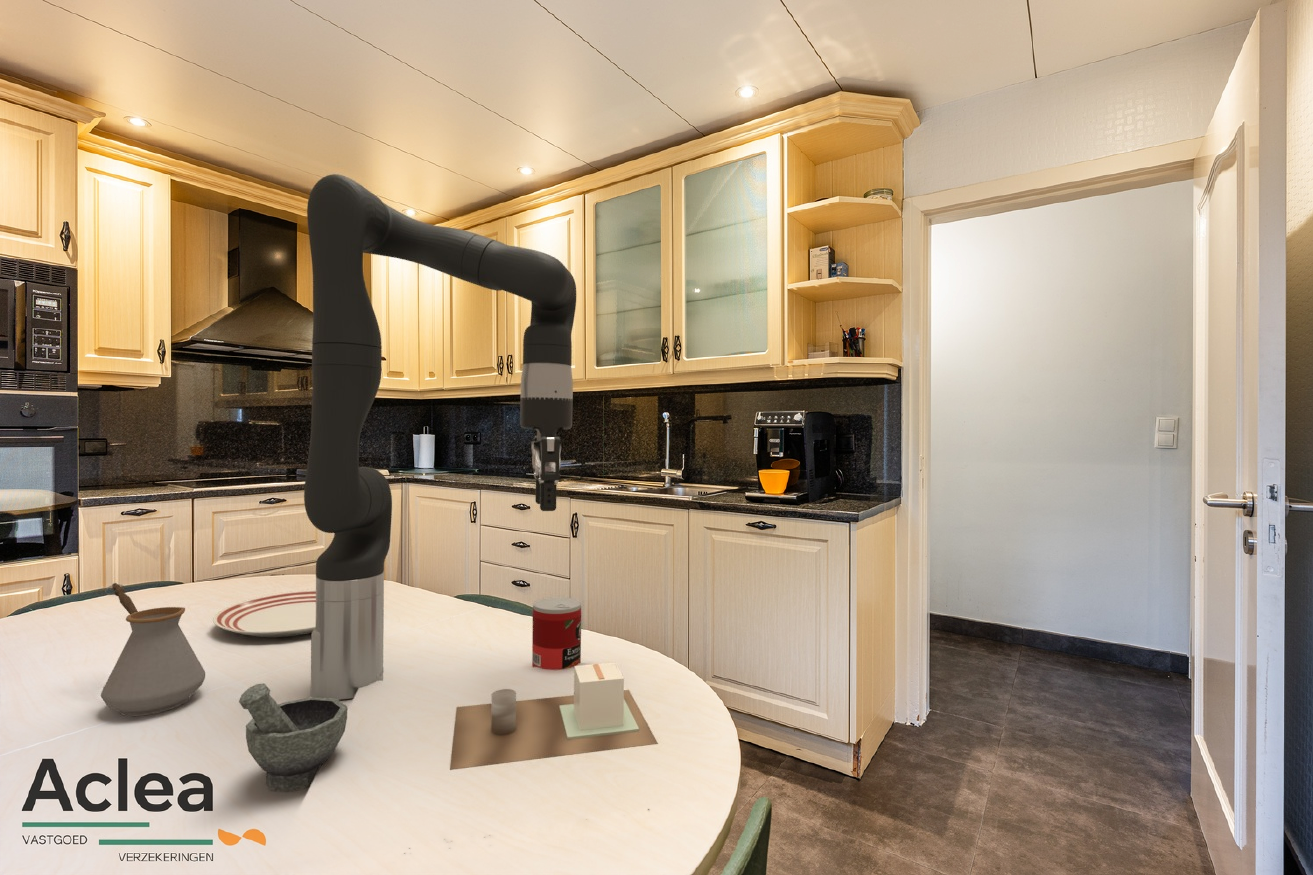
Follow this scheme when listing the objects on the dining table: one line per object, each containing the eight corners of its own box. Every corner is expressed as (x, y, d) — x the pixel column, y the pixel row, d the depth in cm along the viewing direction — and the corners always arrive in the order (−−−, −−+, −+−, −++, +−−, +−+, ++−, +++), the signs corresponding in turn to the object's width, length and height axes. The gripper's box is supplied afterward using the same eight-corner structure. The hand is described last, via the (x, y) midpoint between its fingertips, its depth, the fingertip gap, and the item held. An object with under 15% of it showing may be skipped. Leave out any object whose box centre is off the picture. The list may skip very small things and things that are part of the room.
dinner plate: (399, 617, 129) (399, 601, 129) (257, 657, 106) (257, 638, 106) (325, 597, 144) (325, 583, 144) (186, 628, 121) (186, 611, 121)
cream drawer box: (623, 725, 79) (623, 677, 79) (579, 730, 78) (580, 681, 78) (614, 706, 84) (615, 661, 84) (573, 710, 83) (574, 664, 83)
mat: (567, 739, 76) (567, 737, 76) (559, 707, 84) (559, 705, 84) (639, 731, 78) (639, 728, 78) (623, 700, 87) (623, 698, 87)
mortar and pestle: (309, 746, 76) (310, 649, 76) (364, 764, 72) (365, 662, 72) (212, 795, 66) (213, 683, 66) (270, 818, 62) (271, 699, 62)
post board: (449, 782, 69) (450, 729, 69) (456, 717, 84) (456, 673, 84) (657, 755, 75) (658, 706, 75) (628, 699, 91) (629, 659, 91)
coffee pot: (220, 698, 89) (221, 595, 89) (119, 731, 80) (119, 614, 79) (158, 667, 101) (158, 575, 100) (63, 692, 91) (63, 590, 91)
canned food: (571, 681, 97) (572, 611, 97) (524, 676, 99) (524, 607, 99) (587, 663, 105) (587, 598, 105) (542, 659, 106) (543, 595, 106)
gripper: (579, 395, 85) (577, 513, 85) (566, 399, 99) (565, 501, 99) (523, 393, 83) (521, 514, 83) (518, 398, 97) (516, 501, 97)
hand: (545, 507), depth 91 cm, fingers open, 8 cm apart
